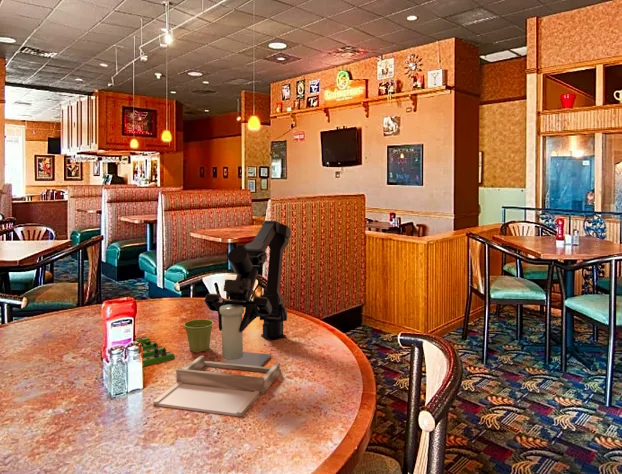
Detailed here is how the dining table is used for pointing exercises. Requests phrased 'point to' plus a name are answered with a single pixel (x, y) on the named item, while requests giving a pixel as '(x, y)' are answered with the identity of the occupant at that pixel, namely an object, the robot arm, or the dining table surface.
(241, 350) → the pale lidded canister
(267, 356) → the slate pad
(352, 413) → the dining table surface
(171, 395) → the frame lid
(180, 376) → the frame
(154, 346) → the toy garden set
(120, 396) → the dining table surface
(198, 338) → the plant pot
